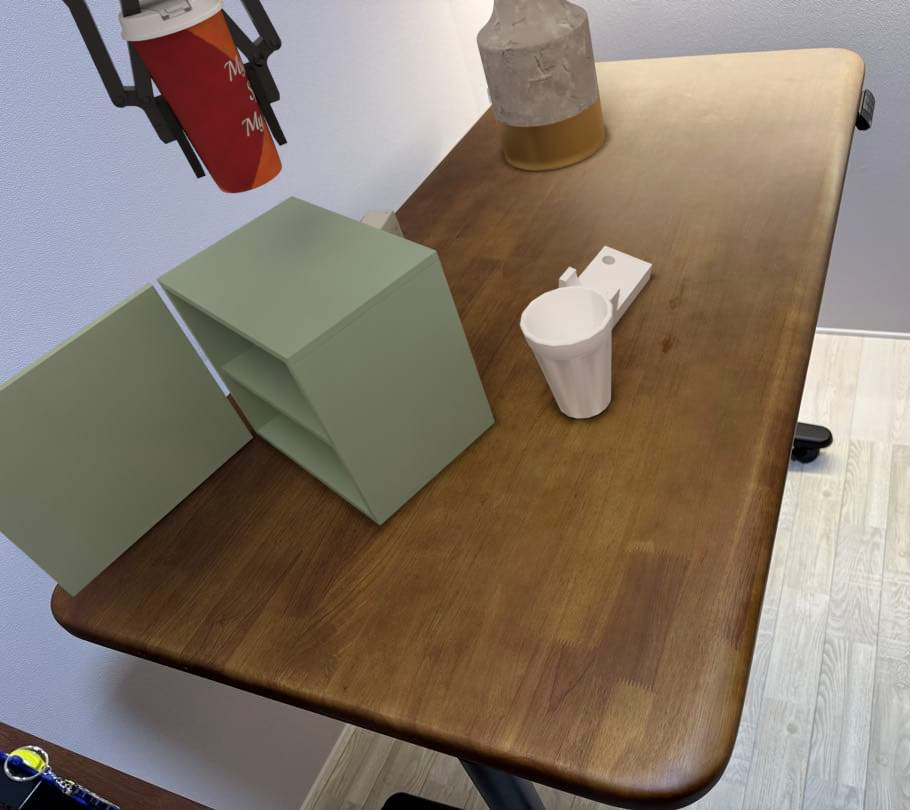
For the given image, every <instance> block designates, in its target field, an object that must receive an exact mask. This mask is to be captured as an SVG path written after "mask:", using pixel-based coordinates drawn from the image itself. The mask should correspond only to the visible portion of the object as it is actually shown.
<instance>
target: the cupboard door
mask: <svg viewBox="0 0 910 810" xmlns="http://www.w3.org/2000/svg"><path fill="white" fill-rule="evenodd" d="M252 439H254V436H253V435H252V434H251V432H250V430H249V428H248V427H247V426H246V424H245V423H244V421H243V420H242V418H241V417H240V415H239V414H238V412H237V411H236V409H235V408H234V406H233V404H232V403H231V401H230V400H229V398H228V397H227V396H226V394H225V392H224V391H223V389H222V388H221V386H220V385H219V383H218V382H217V381H216V378H215V377H214V376H213V374H212V373H211V371H210V370H209V368H208V367H207V365H206V363H205V362H204V360H203V359H202V358H201V356H200V355H199V353H198V352H197V350H196V348H195V346H194V345H193V344H192V342H191V341H190V339H189V338H188V337H187V334H186V333H185V332H184V330H183V328H182V327H181V326H180V324H179V323H178V321H177V320H176V318H175V317H174V315H173V313H172V311H171V310H170V309H169V307H168V306H167V304H166V303H165V302H164V300H163V298H162V297H161V295H160V294H159V292H158V291H157V289H156V288H155V286H154V285H153V284H151V283H146V284H144V285H143V286H142V287H140V288H138V289H137V290H136V291H134V292H133V293H131V294H130V295H129V296H127V297H126V298H124V299H123V300H121V301H119V302H118V303H117V304H116V305H113V306H112V307H111V308H109V309H108V310H107V311H105V312H103V313H102V314H101V315H99V316H98V317H97V318H95V319H93V320H92V321H90V322H89V323H88V324H86V325H85V326H83V327H82V328H80V329H79V330H78V331H76V332H75V333H73V334H72V335H70V336H69V337H68V338H66V339H64V340H63V341H61V342H60V343H58V344H57V345H56V346H55V347H53V348H52V349H50V350H48V352H46V353H44V354H43V355H41V356H40V357H39V358H37V359H36V360H34V361H33V362H31V363H30V364H28V365H27V366H26V367H24V368H22V369H21V370H20V371H19V372H17V373H15V374H14V375H13V376H11V377H9V378H8V379H7V380H5V381H4V382H2V383H1V384H0V533H1V534H2V535H3V536H4V537H6V538H7V539H8V541H10V542H11V543H12V544H13V545H14V546H16V548H17V549H19V550H20V551H21V552H22V553H23V554H24V555H26V556H27V557H28V558H29V559H30V560H31V561H32V562H33V563H34V564H36V565H37V566H38V567H39V568H40V569H41V570H42V571H44V572H45V574H47V575H48V576H49V577H50V578H51V579H52V580H54V581H55V583H57V584H58V585H59V586H60V587H61V588H63V589H64V590H65V591H66V592H67V593H68V594H69V595H70V596H72V597H74V598H75V597H76V596H77V595H78V593H80V592H82V590H83V589H84V588H86V587H87V586H88V585H89V584H90V583H91V582H92V581H94V579H95V578H97V577H98V576H99V575H100V574H101V573H102V572H104V571H105V570H106V569H107V568H108V567H109V566H110V565H112V563H114V562H115V561H116V560H117V559H118V558H119V557H121V555H123V554H124V553H125V552H126V551H127V550H129V548H131V547H132V546H133V545H134V544H135V543H136V542H137V541H138V540H140V539H141V538H142V537H143V536H144V535H145V534H146V533H147V532H149V531H150V530H151V529H152V528H153V527H154V526H155V525H156V524H157V523H159V522H160V521H162V519H163V518H164V517H165V516H166V515H168V514H169V513H170V512H172V511H173V509H174V508H175V507H177V506H178V505H179V504H180V503H181V502H182V501H183V500H185V499H186V498H187V497H188V496H190V494H191V493H192V492H193V491H195V490H196V489H197V488H198V487H199V486H201V484H202V483H204V482H205V481H206V480H207V479H208V478H209V477H211V476H212V475H213V474H214V473H215V472H216V471H217V470H218V469H219V468H221V467H222V466H223V465H224V464H225V463H226V462H227V461H229V460H230V459H231V458H232V457H234V455H236V454H237V452H239V451H240V450H241V449H242V448H243V447H244V446H246V445H247V443H249V442H250V441H251V440H252Z"/></svg>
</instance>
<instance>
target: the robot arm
mask: <svg viewBox="0 0 910 810" xmlns="http://www.w3.org/2000/svg"><path fill="white" fill-rule="evenodd" d="M61 1H62V2H63V3H64V4H65V5H66V7H67V8H68V9H69V12H70V14H71V16H72V18H73V21H74V22H75V25H76V27H77V29H78V31H79V33H80V35H81V36H80V37H81V38H82V39H83V43H84V44H85V47H86V49H87V51H88V54H89V55H90V57H91V60H92V62H93V64H94V67H95V69H96V70H97V73H98V76H99V77H100V79H101V82H102V84H103V86H104V88H105V90H106V92H107V94H108V97H109V99H110V101H111V103H112V104H113V105H114V107H116V108H118V109H123V108H126V107H137V108H139V109H141V110H142V111H143V112H144V113H145V115H146V117H147V119H148V121H149V123H150V124H151V126H152V128H153V129H154V131H155V133H156V135H157V137H158V139H159V140H160V141H161V142H162V143H163V144H164V145H168V144H170V143H173V142H175V141H176V142H177V144H178V146H179V147H180V149H181V151H182V153H183V155H184V156H185V157H184V158H185V159H186V160H187V162H188V164H189V166H190V167H191V169H192V171H193V173H194V175H195V178H196V179H198V180H199V179H201V178H204V177H206V176H207V174H206V172H205V169H204V167H203V165H202V164H201V163H202V162H201V160H200V159H199V157H198V155H197V153H196V151H195V149H194V148H193V146H192V144H191V143H190V141H189V140H188V138H187V136H186V135H185V133H184V131H183V130H182V128H181V126H180V125H179V123H178V121H177V120H176V118H175V116H174V115H173V113H172V111H171V109H170V107H169V105H168V104H167V102H166V101H165V100H164V98H163V97H162V95H161V94H158V95H154V88H153V80H152V79H151V75H150V72H149V70H148V69H147V67H146V66H145V64H144V62H143V61H142V59H141V57H140V56H139V54H138V52H137V51H136V49H135V47H134V46H133V44H132V43H131V41H126V45H127V51H128V57H129V63H130V68H131V74H132V79H133V85H124V84H123V82H122V80H121V77H120V75H119V72H118V70H117V68H116V66H115V64H114V61H113V59H112V57H111V55H110V52H109V50H108V47H107V45H106V43H105V41H104V39H103V36H102V34H101V31H100V29H99V27H98V25H97V23H96V21H95V19H94V16H93V14H92V12H91V10H90V7H89V4H88V2H87V1H86V0H61ZM118 1H119V6H120V12H122V14H123V17H124V18H125V17H128V16H131V15H135V14H139V13H141V11H140V4H139V0H118ZM239 1H240V3H241V4H242V7H243V8H244V10H245V12H246V14H247V15H248V18H249V19H250V21H251V23H252V25H253V26H254V28H255V30H256V32H257V34H258V35H259V36H258V37H256V39H255V40H254V41H252V40H251V39H250V37H249V36H248V35H247V34H246V33H245V32H244V31H243V30H242V28H240V26H239V25H238V24H237V23H236V22H235V20H233V18H232V17H231V16H230V15H229V14H228V13H227V11H226V10H225V9H224V7H223V8H222V9H221V11H222V14H223V16H224V19H225V22H226V24H227V27H228V29H229V32H230V34H231V37H232V39H233V42H234V44H235V46H236V47H237V49H238V51H240V52H241V53H242V54H243V56H244V57H245V58H246V59H247V61H248V62H245V63H243V64H244V67H245V69H246V74H247V76H248V78H249V81H250V83H251V85H252V88H253V90H254V92H255V95H256V97H257V100H258V102H259V105H260V108H261V110H262V113H263V115H264V118H265V120H266V123H267V126H268V128H269V131H270V133H271V136H272V138H274V139H273V140H275V141H276V143H277V145H278V146H279V147H281V146H285V145H287V144H288V141H287V138H286V136H285V134H284V131H283V129H282V127H281V124H280V123H279V120H278V117H277V116H276V114H275V112H274V109H273V107H272V105H271V104H273V103H275V102H278V101H281V93H280V90H279V87H278V85H277V84H276V81H275V78H274V77H273V74H272V72H271V70H270V68H269V65H268V60H269V58H270V56H271V55H272V54H273V53H275V52H276V51H279V50H280V49H281V48H282V43H283V42H282V39H281V38H280V35H279V34H278V32H277V30H276V28H275V26H274V24H273V23H272V22H273V21H271V19H270V17H269V15H268V12H267V11H266V10H265V7H264V5H263V4H262V1H261V0H239Z"/></svg>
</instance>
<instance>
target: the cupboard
mask: <svg viewBox="0 0 910 810" xmlns="http://www.w3.org/2000/svg"><path fill="white" fill-rule="evenodd" d="M156 281H157V284H159V286H160V287H161V290H163V292H164V294H165V295H166V297H167V298H168V300H169V301H170V303H171V304H172V306H173V307H174V309H175V310H176V312H177V313H178V315H179V317H180V318H181V321H183V323H184V324H185V326H186V327H187V329H188V330H189V332H190V334H191V335H192V336H193V338H194V340H195V341H196V342H197V344H198V346H199V348H200V349H201V351H202V352H203V353H204V355H205V357H206V358H207V360H208V362H209V363H210V364H211V366H212V367H213V369H214V370H215V372H216V373H217V375H218V377H219V378H220V380H221V381H222V383H223V384H224V385H225V387H226V389H227V390H228V392H229V393H230V395H231V396H232V398H233V400H234V401H235V402H236V403H235V404H237V405H238V407H239V409H240V410H241V412H242V413H243V415H244V416H245V418H246V419H247V421H248V422H249V424H250V425H251V428H252V429H253V430H254V432H255V433H256V434H257V435H258V436H259V437H261V438H262V439H264V440H265V441H266V442H267V443H269V444H270V445H272V446H273V447H274V448H275V449H277V450H278V451H280V453H282V454H283V455H285V456H286V457H287V458H288V459H290V460H292V461H293V462H294V463H295V464H297V465H298V466H299V467H301V468H302V469H304V470H305V471H306V472H308V473H309V474H310V475H312V476H313V477H314V478H316V479H317V480H318V481H319V482H321V483H322V484H324V485H325V486H326V487H327V488H329V489H330V490H332V491H333V492H334V493H336V494H337V495H339V496H340V497H341V498H343V499H344V500H345V501H346V502H348V503H349V504H351V505H352V507H354V508H356V509H357V510H358V511H360V512H361V513H363V514H364V515H365V516H367V517H368V518H369V519H371V520H372V521H373V522H374V523H376V524H377V525H379V526H382V525H383V524H384V523H385V522H386V521H387V520H388V519H389V518H390V517H392V516H393V515H394V514H395V513H396V512H397V511H398V510H400V509H401V508H402V507H403V506H404V505H405V504H406V503H407V502H408V501H409V500H411V499H412V498H413V497H414V496H415V495H416V494H417V493H418V492H420V490H422V488H424V487H425V486H426V485H428V483H429V482H431V481H432V480H433V479H434V478H435V477H437V475H439V473H441V472H442V471H444V469H445V468H446V467H447V466H449V464H451V463H452V462H453V461H454V460H455V459H456V458H457V457H458V456H460V454H461V453H463V452H464V451H465V450H466V449H467V448H468V447H469V446H470V445H472V444H473V443H474V442H475V441H476V440H477V439H478V438H479V437H481V436H482V435H483V434H484V433H485V432H487V430H488V429H489V428H491V427H492V426H493V425H494V424H495V423H496V421H495V418H494V415H493V412H492V408H491V407H490V404H489V400H488V398H487V394H486V392H485V389H484V386H483V382H482V380H481V377H480V374H479V371H478V368H477V366H476V362H475V360H474V356H473V353H472V350H471V348H470V345H469V342H468V339H467V336H466V334H465V330H464V327H463V324H462V322H461V319H460V315H459V313H458V309H457V306H456V304H455V301H454V299H453V295H452V292H451V289H450V286H449V284H448V281H447V278H446V275H445V272H444V268H443V266H442V263H441V260H440V257H439V254H438V252H437V250H436V249H433V248H431V247H427V246H425V245H422V244H420V243H417V242H414V241H412V240H409V239H407V238H405V237H404V238H401V237H399V236H396V235H394V234H391V233H388V232H386V231H383V230H380V229H378V228H375V227H372V226H370V225H367V224H364V223H362V222H360V220H356V219H354V218H351V217H349V216H347V215H343V214H340V213H339V212H338V213H337V212H336V211H333V210H330V209H327V208H324V207H322V206H319V205H318V204H317V205H316V204H314V203H311V202H309V201H306V200H303V199H301V198H298V197H295V196H293V195H292V196H289V197H287V198H286V199H284V200H283V201H281V202H279V203H278V204H277V205H275V206H273V207H271V208H270V209H268V210H267V211H265V212H263V213H261V214H260V215H259V216H257V217H255V218H254V219H251V220H250V221H249V222H246V223H245V224H244V225H242V226H240V227H239V228H237V229H235V230H234V231H232V232H230V233H229V234H227V235H226V236H224V237H222V238H221V239H219V240H217V241H216V242H214V243H212V244H210V245H209V246H207V247H206V248H205V249H203V250H201V251H199V252H197V253H196V254H195V255H193V256H192V257H190V258H188V259H186V260H185V261H183V262H182V263H180V264H178V265H176V266H175V267H173V268H172V269H170V270H168V271H167V272H165V273H163V274H162V275H160V276H159V277H157V278H156Z"/></svg>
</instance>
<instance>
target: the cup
mask: <svg viewBox="0 0 910 810" xmlns="http://www.w3.org/2000/svg"><path fill="white" fill-rule="evenodd" d="M612 325H613V306H612V303H611V302H610V300H609V299H608V297H607V296H606V295H605V294H603V293H601V292H599V291H597V290H595V289H593V288H588V287H581V286H572V287H562V288H559V287H558V288H555V289H552V290H549V291H547V292H544V293H542V294H541V295H539V296H538V297H536V298H534V299H533V300H532V301H531V302H529V304H528V305H527V307H526V308H525V309H524V310H523V311H522V313H521V316H520V321H519V327H520V329H521V331H522V334H523V336H524V339H525V341H526V343H527V345H528V347H529V348H530V349H531V350H532V353H533V355H534V357H535V359H536V362H537V364H538V365H539V367H540V369H541V372H542V374H543V376H544V378H545V381H546V383H547V385H548V386H549V388H550V391H551V393H552V395H553V397H554V400H555V402H556V403H557V406H558V408H559V410H560V412H561V413H563V414H564V415H566V416H567V417H568V418H574V419H589V418H592V417H595V416H597V415H599V414H601V413H602V412H603V411H605V410H606V409H607V408H608V406H609V405H610V403H611V400H612V336H613V335H612V334H613V333H612V331H613V329H612Z"/></svg>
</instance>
